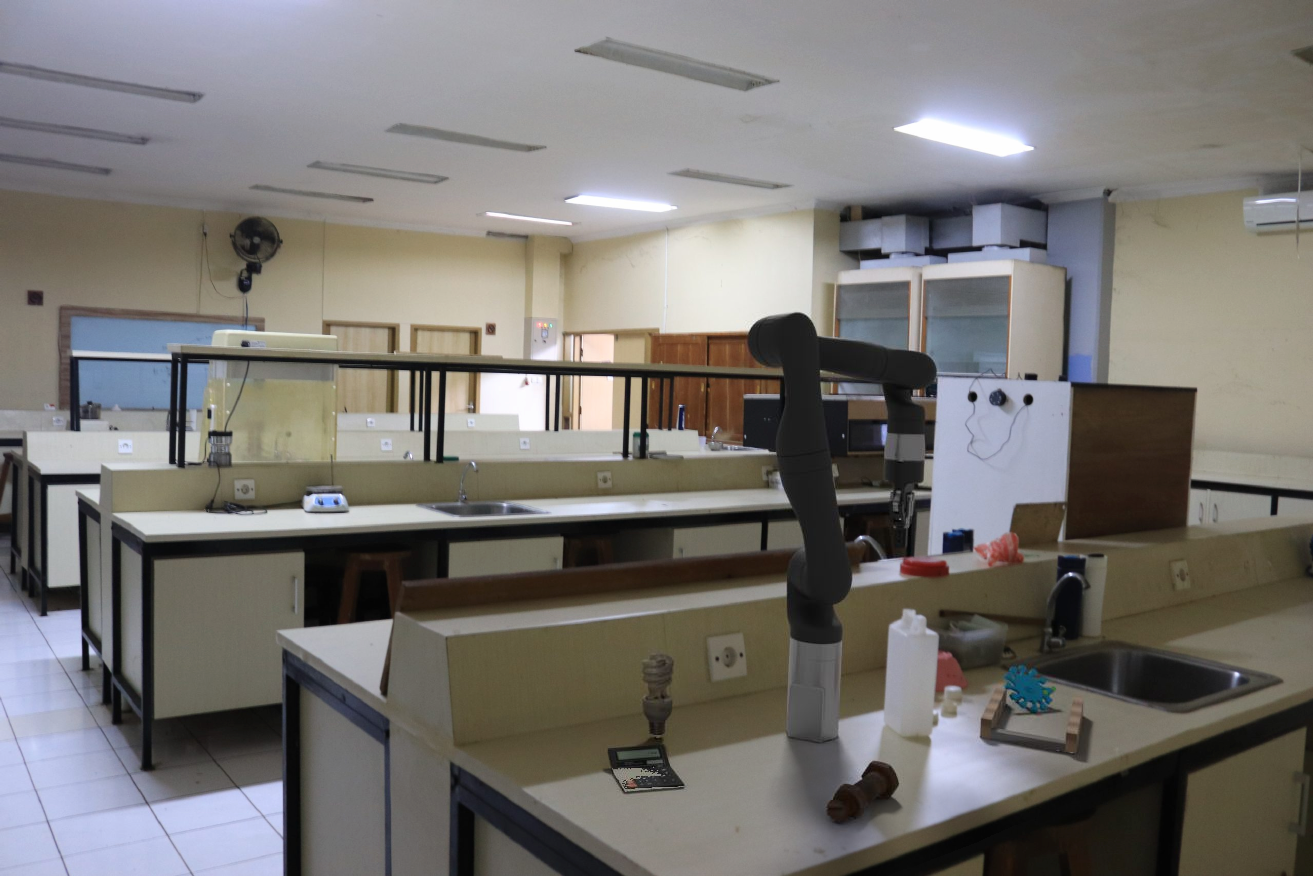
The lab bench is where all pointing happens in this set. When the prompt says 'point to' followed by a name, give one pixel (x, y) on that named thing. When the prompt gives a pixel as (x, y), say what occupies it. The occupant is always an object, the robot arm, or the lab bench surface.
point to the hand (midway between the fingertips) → (900, 547)
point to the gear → (1028, 689)
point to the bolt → (863, 791)
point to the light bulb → (657, 691)
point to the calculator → (645, 765)
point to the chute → (1068, 745)
